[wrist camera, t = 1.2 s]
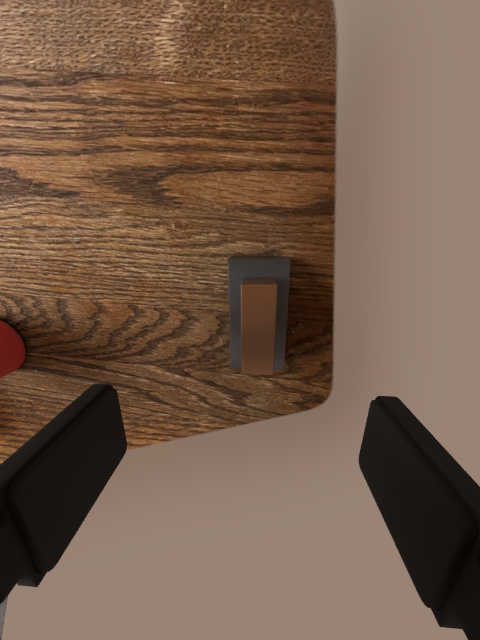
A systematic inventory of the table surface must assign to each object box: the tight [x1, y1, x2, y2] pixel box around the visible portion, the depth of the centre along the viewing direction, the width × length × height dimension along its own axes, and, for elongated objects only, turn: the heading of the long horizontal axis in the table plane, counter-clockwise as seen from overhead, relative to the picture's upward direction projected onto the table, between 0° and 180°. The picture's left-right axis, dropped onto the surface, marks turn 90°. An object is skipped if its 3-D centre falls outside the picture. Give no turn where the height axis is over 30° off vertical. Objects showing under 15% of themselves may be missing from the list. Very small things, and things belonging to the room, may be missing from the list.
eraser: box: [228, 256, 291, 375], centre depth 20 cm, size 10×5×6 cm, turn 1°
